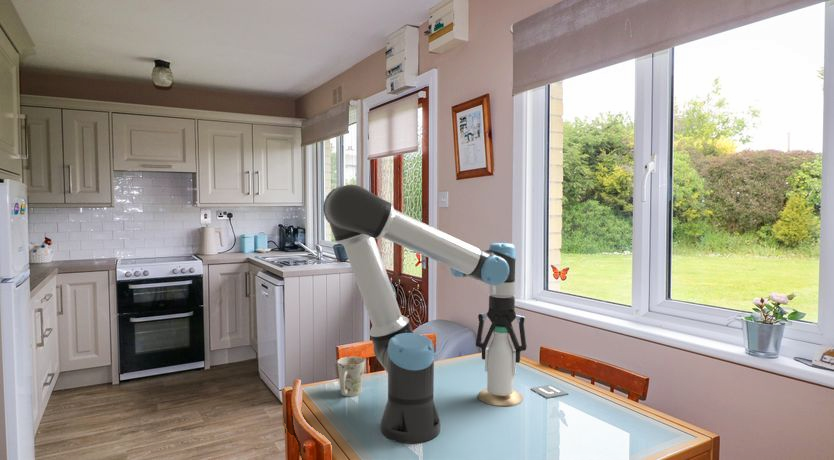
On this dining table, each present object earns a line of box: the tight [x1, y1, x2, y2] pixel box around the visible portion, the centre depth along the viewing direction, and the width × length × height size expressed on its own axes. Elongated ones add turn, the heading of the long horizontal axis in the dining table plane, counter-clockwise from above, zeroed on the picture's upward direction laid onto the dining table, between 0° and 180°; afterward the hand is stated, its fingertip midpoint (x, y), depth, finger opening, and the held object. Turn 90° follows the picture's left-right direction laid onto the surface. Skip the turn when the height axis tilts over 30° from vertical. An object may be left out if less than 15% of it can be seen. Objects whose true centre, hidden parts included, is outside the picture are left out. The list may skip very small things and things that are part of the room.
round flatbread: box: [477, 388, 524, 407], centre depth 148 cm, size 13×13×1 cm
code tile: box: [530, 384, 569, 399], centre depth 153 cm, size 8×8×1 cm
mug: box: [336, 356, 366, 398], centre depth 148 cm, size 8×13×10 cm, turn 174°
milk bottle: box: [486, 326, 515, 396], centre depth 147 cm, size 8×8×20 cm
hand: (500, 371), depth 147 cm, fingers closed on milk bottle, 7 cm apart
